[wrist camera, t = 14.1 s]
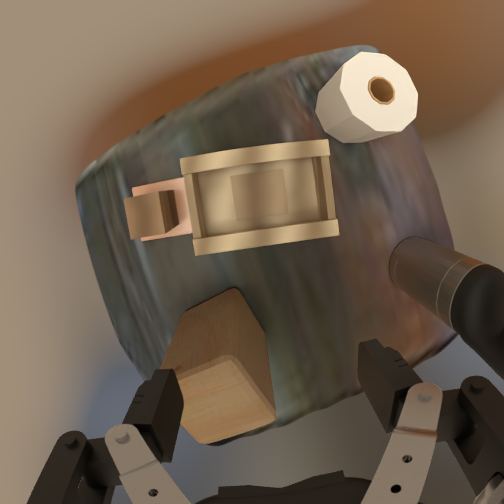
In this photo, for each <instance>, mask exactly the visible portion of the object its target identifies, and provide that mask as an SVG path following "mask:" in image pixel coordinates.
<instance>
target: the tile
mask: <svg viewBox="0 0 504 504" xmlns="http://www.w3.org/2000/svg"><path fill="white" fill-rule="evenodd" d="M167 190H174V194H175V200H176V207H177V213H178V219H179V225H178V226H176V227H175V228H173V229H172V230H170V231H169V232H167V233H166V234H161V235H154V236H148V237H142V238H141V241H146V240H152V239H158V238H164V237H170V236H176V235H182V234H188V233H193V232H192V227H191V221H190V215H189V209H188V203H187V196H186V190H185V183H184V177H183V178H178V179H172V180H167V181H162V182H157V183H153V184H148V185H143V186H139V187H134V188H132V191H133V197H134V196H139V195H143V194H148V193H153V192H159V191H167Z"/></svg>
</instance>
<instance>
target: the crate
mask: <svg viewBox="0 0 504 504" xmlns="http://www.w3.org/2000/svg"><path fill="white" fill-rule="evenodd" d="M329 155H330V150H329V144H328V139H325V140H312V141H300V142H290V143H280V144H271V145H263V146H255V147H247V148H240V149H233V150H227V151H220V152H214V153H208V154H202V155H197V156H191V157H186V158H181V159H180V165H181V172H182V175H183V177H184V183H185V190H186V196H187V203H188V209H189V215H190V221H191V227H192V232H193V238H194V239H193V245H194V250H195V256H197V255H204V254H211V253H218V252H225V251H232V250H238V249H245V248H252V247H259V246H266V245H273V244H280V243H287V242H294V241H301V240H308V239H315V238H323V237H330V236H337V235H339V229H338V219H336V216H335V206H334V197H333V188H332V179H331V171H330V164H329V157H328V156H329Z"/></svg>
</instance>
